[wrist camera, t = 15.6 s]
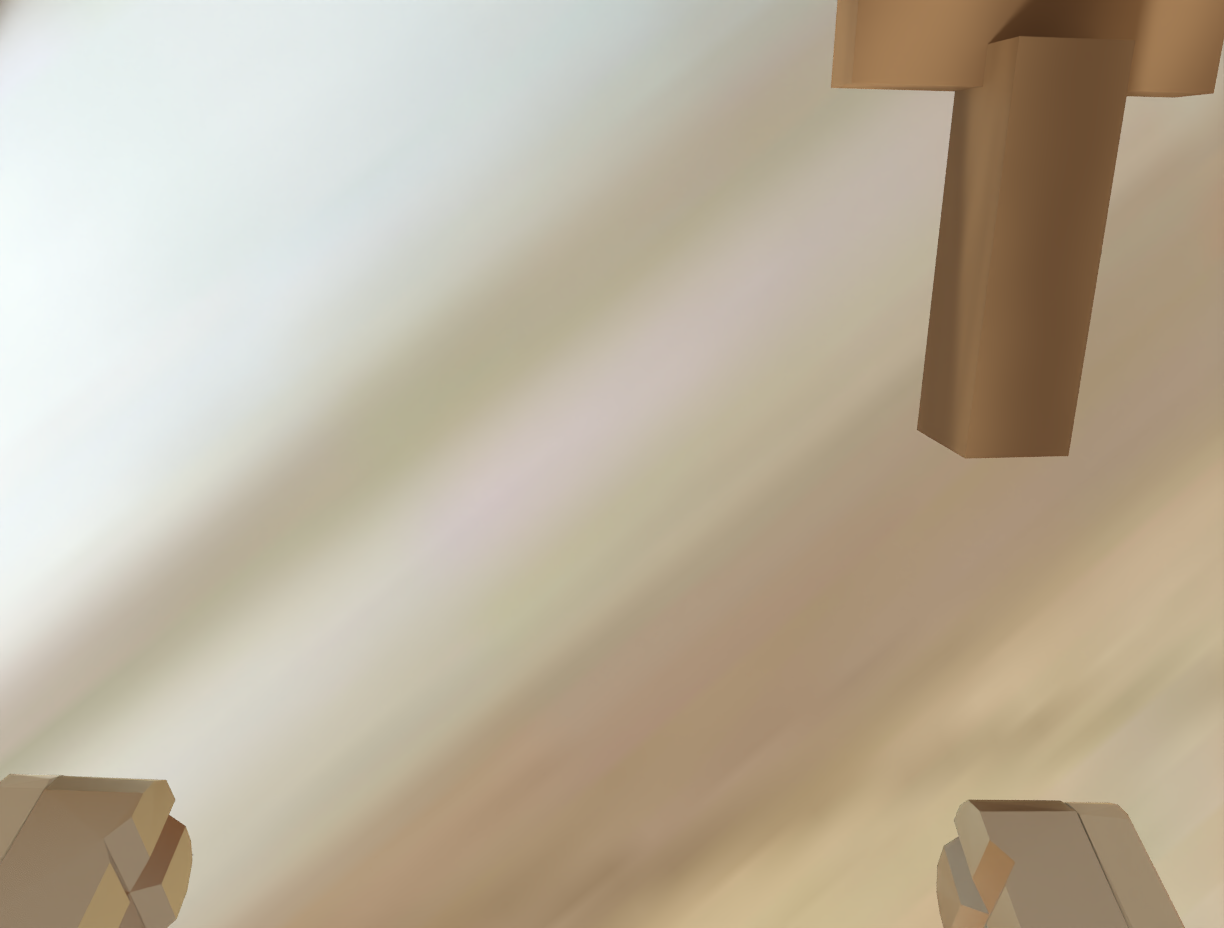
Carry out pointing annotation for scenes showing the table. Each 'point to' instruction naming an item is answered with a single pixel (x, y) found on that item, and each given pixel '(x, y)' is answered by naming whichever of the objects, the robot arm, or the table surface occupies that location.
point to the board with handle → (1022, 185)
